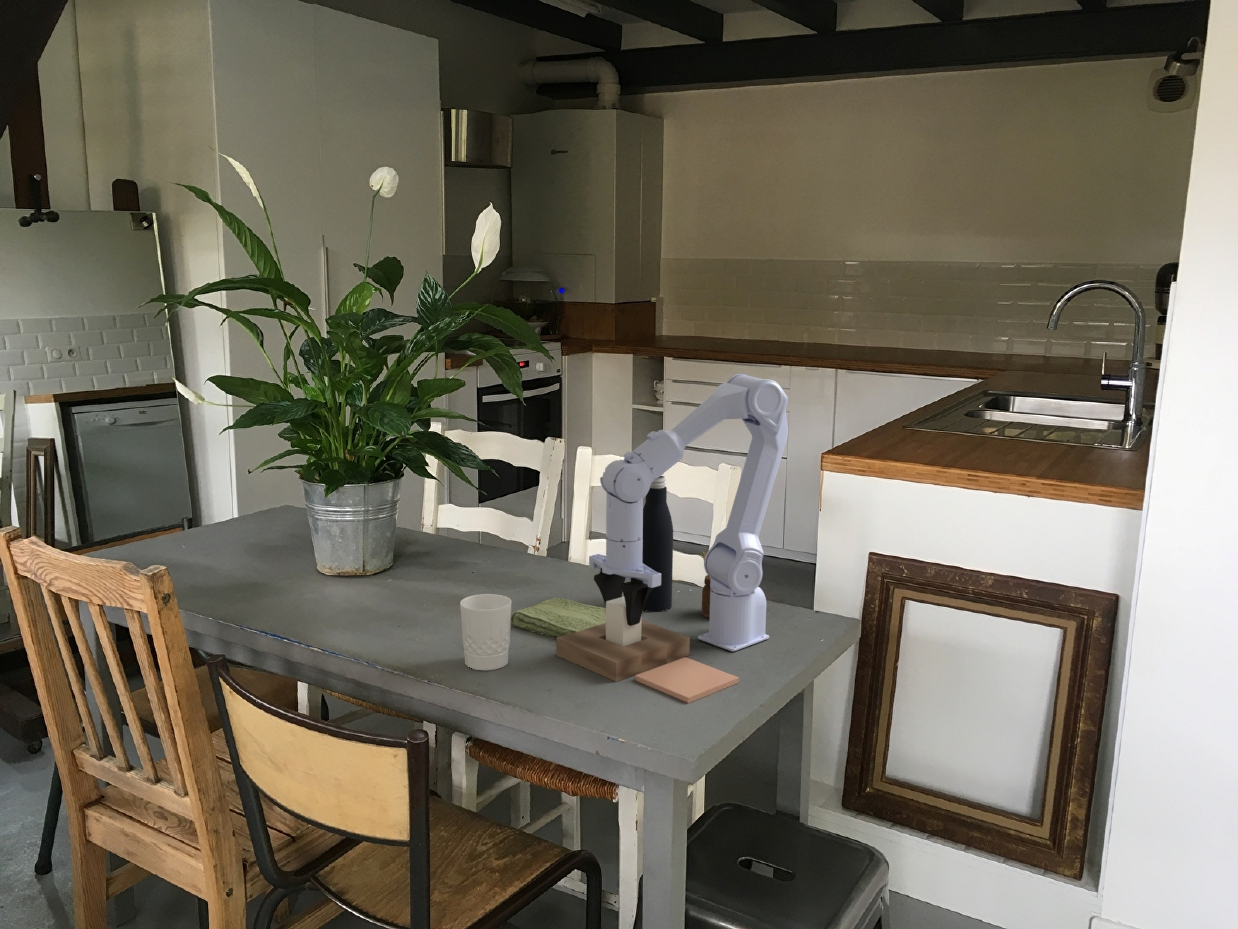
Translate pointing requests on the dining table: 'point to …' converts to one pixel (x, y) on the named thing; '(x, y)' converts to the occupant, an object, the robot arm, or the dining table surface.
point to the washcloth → (559, 617)
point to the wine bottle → (658, 544)
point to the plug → (620, 624)
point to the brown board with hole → (622, 650)
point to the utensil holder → (706, 595)
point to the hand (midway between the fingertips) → (623, 620)
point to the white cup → (486, 630)
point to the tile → (687, 679)
